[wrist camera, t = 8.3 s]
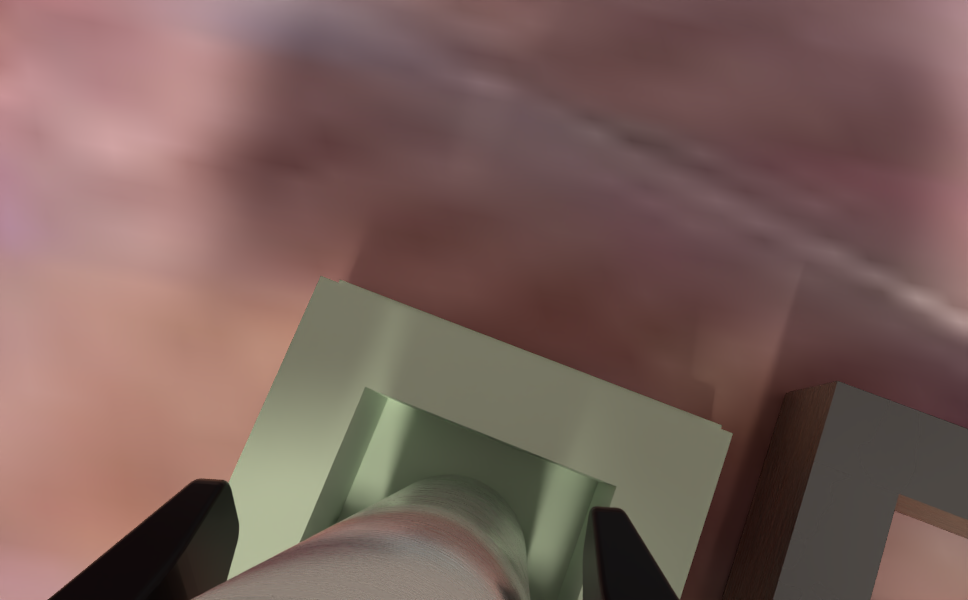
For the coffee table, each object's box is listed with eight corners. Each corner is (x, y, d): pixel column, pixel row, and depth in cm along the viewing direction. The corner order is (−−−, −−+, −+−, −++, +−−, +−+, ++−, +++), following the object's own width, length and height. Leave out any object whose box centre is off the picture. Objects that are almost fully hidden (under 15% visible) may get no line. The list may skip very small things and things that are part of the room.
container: (575, 843, 17) (595, 960, 13) (182, 666, 18) (92, 725, 14) (710, 427, 19) (764, 419, 15) (348, 288, 20) (309, 246, 16)
